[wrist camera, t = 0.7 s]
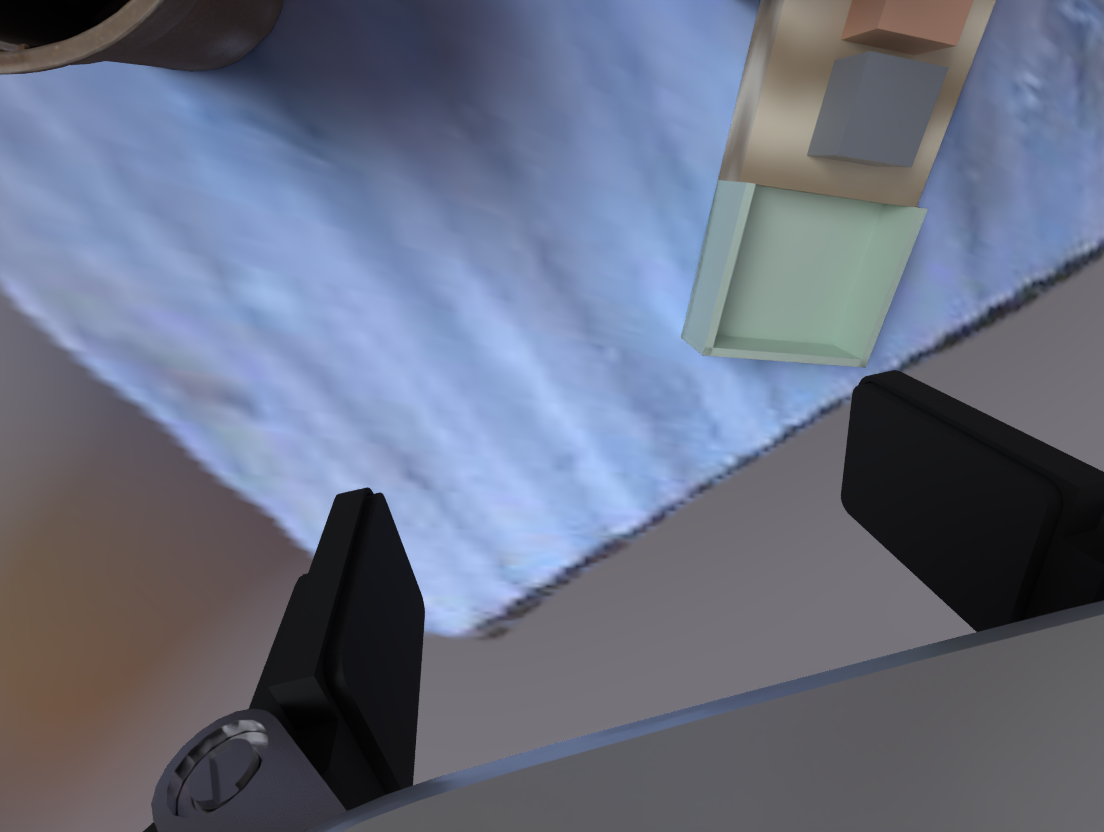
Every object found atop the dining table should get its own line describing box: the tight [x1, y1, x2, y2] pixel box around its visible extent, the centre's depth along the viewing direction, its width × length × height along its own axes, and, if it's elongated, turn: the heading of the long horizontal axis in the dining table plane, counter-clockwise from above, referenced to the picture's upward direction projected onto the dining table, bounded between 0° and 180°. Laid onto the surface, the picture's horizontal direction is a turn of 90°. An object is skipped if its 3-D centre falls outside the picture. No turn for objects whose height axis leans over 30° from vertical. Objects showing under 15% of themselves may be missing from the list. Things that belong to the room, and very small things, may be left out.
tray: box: [681, 180, 928, 368], centre depth 37 cm, size 11×13×4 cm
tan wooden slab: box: [718, 0, 996, 207], centre depth 33 cm, size 14×13×3 cm
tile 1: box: [807, 51, 949, 167], centre depth 31 cm, size 5×5×3 cm
